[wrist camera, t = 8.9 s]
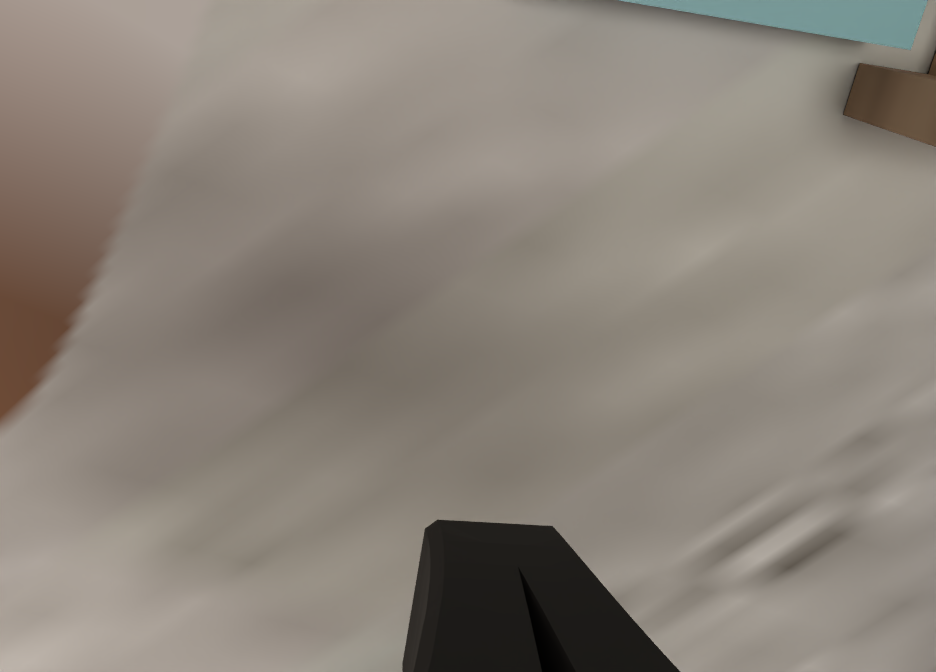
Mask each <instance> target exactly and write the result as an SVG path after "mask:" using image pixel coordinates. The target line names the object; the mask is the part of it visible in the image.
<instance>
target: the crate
mask: <svg viewBox="0 0 936 672" xmlns="http://www.w3.org/2000/svg"><path fill="white" fill-rule="evenodd" d="M843 115H846V116H848V117H851V118H854V119H857V120H860V121H863V122H866V123H869V124H872V125H875V126H877V127H880V128H883V129H886V130H889V131H892V132H895V133H898V134H901V135H903V136H906V137H909V138H912V139H915V140H918V141H921V142H924V143H927V144H929V145H932V146H935V147H936V54H935V56H934V59H933V62H932V65H931V68H930V70H929V73H928V74H923V73H917V72H911V71H905V70H899V69H893V68H887V67H881V66H875V65H869V64H863V63H860V65H859V68H858V71H857V74H856V77H855V80H854V83H853V86H852V89H851V92H850V96H849V99H848V102H847V105H846V108H845V111H844V114H843Z"/></svg>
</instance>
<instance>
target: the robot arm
mask: <svg viewBox="0 0 936 672" xmlns="http://www.w3.org/2000/svg"><path fill="white" fill-rule="evenodd" d="M403 672H680V671H679V670H678V669H677V668H676V667H675V666H674V665H673V663H672V662H671V661H670V660H669V659H668V658H667V657H666V656H665V655H664V654H663V653H662V651H661V650H660V649H659V648H658V647H657V646H656V645H655V644H654V643H653V641H652V640H651V639H650V638H649V637H648V636H647V635H646V634H645V633H644V631H643V630H642V629H641V628H640V627H639V626H638V625H637V624H636V622H635V621H634V620H633V619H632V618H631V617H630V616H629V614H628V613H627V612H626V611H625V610H624V609H623V608H622V606H621V605H620V604H619V603H618V602H617V601H616V599H615V598H614V597H613V596H612V595H611V594H610V592H609V591H608V590H607V589H606V588H605V587H604V586H603V584H602V583H601V582H600V581H599V580H598V578H597V577H596V576H595V575H594V574H593V573H592V571H591V570H590V569H589V568H588V567H587V566H586V564H585V563H584V562H583V561H582V560H581V558H580V557H579V556H578V555H577V554H576V553H575V551H574V550H573V549H572V548H571V547H570V546H569V544H568V543H567V542H566V541H565V540H564V539H563V537H562V536H561V535H560V534H559V533H558V532H557V531H556V530H555V528H554V527H553V526H539V525H521V524H504V523H486V522H468V521H450V520H437V521H435V522H434V523H432V524H431V525H430V526H428V527H427V528H425V532H424V538H423V544H422V550H421V556H420V562H419V568H418V574H417V580H416V586H415V592H414V598H413V604H412V610H411V616H410V622H409V628H408V634H407V640H406V646H405V652H404V658H403Z"/></svg>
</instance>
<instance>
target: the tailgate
mask: <svg viewBox="0 0 936 672" xmlns="http://www.w3.org/2000/svg"><path fill="white" fill-rule="evenodd" d="M619 1H625V2H631V3H637V4H643V5H649V6H655V7H661V8H667V9H672V10H678V11H684V12H690V13H696V14H702V15H708V16H714V17H719V18H725V19H731V20H737V21H743V22H749V23H755V24H761V25H767V26H772V27H778V28H784V29H790V30H796V31H802V32H808V33H814V34H820V35H825V36H831V37H837V38H843V39H849V40H855V41H861V42H867V43H872V44H878V45H884V46H890V47H896V48H902V49H908V50H911V47H912V44H913V42H914V39H915V36H916V33H917V30H918V27H919V24H920V21H921V18H922V15H923V12H924V10H925V7H926V4H927V1H928V0H619Z"/></svg>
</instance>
